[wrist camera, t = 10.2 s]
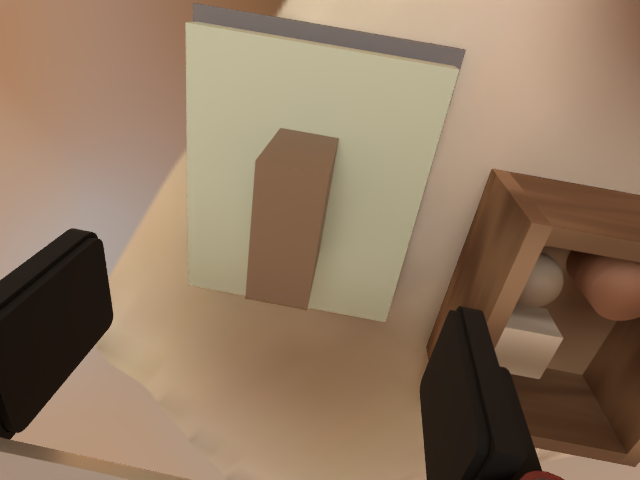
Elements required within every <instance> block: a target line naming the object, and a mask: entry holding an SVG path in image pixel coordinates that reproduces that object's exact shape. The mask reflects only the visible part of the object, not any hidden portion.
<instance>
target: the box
mask: <svg viewBox="0 0 640 480" xmlns="http://www.w3.org/2000/svg"><path fill="white" fill-rule="evenodd" d="M459 306H463V307H468V308H473V309H478V310H482V311H483V313H484V316H485V319H486V323H487V326H488V329H489V333H490V336H491V339H492V343H493V346H494V349H495V353H496V356H497V359H498V363H499V366H500V367H505V368H507V369H508V370H509V372H510V374H511V376H512V379H513V382H514V386H515V389H516V392H517V395H518V398H519V401H520V404H521V407H522V410H523V413H524V416H525V420H526V423H527V426H528V429H529V432H530V435H531V438H532V441H533V444H534V447H535V448H540V449H545V450H551V451H556V452H561V453H566V454H571V455H576V456H582V457H587V458H592V459H597V460H602V461H608V462H613V463H618V464H623V465H629V466H633V467H636V465H637V464H638V463H639V462H640V195H636V194H630V193H625V192H619V191H614V190H608V189H602V188H597V187H591V186H586V185H580V184H574V183H569V182H563V181H558V180H552V179H546V178H541V177H535V176H530V175H524V174H518V173H513V172H507V171H502V170H496V169H492V171H491V174H490V176H489V179H488V182H487V184H486V187H485V190H484V193H483V195H482V198H481V201H480V203H479V206H478V209H477V211H476V214H475V217H474V220H473V222H472V225H471V228H470V230H469V233H468V236H467V239H466V241H465V244H464V247H463V249H462V252H461V255H460V258H459V260H458V263H457V266H456V268H455V271H454V274H453V277H452V279H451V282H450V285H449V287H448V290H447V293H446V296H445V298H444V301H443V304H442V306H441V309H440V312H439V314H438V317H437V320H436V323H435V325H434V328H433V331H432V333H431V336H430V339H429V342H428V344H427V352H428V359H429V360H430V357H431V355H432V352H433V350H434V347H435V345H436V342H437V340H438V337H439V334H440V332H441V329H442V327H443V324H444V322H445V319H446V317H447V314H448V312H449V311H450V310H455V311H456V309H457V308H458V307H459Z"/></svg>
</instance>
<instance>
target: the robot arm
mask: <svg viewBox="0 0 640 480" xmlns="http://www.w3.org/2000/svg"><path fill="white" fill-rule="evenodd" d="M112 320H113V309H112V302H111V295H110V289H109V282H108V275H107V268H106V261H105V254H104V247H103V242H102V241H101V240H100V239H98V237H97V235H96V234H95V233H93V232H89V231H83V230H79V229H69V230H67V231H66V232H65V233H63V234H62V235H61V236H59V237H58V238H57V239H55V240H54V241H53V242H51V243H50V244H49V245H48V246H46V247H44V248H43V249H42V250H40V251H39V252H38V253H36V254H35V255H34V256H32V257H31V258H30V259H28V260H27V261H26V262H24V263H23V264H22V265H20V266H19V267H18V268H16V269H15V270H14V271H12V272H11V273H10V274H8V275H7V276H5V277H4V278H3V279H1V280H0V480H189V479H185V478H181V477H176V476H172V475H167V474H163V473H159V472H154V471H150V470H145V469H141V468H136V467H132V466H127V465H122V464H118V463H114V462H109V461H104V460H100V459H96V458H91V457H87V456H82V455H77V454H73V453H68V452H64V451H59V450H54V449H49V448H45V447H41V446H36V445H32V444H27V443H23V442H18V441H13V440H10V439H11V438H12V437H13V436H14V435H15V433H16V432H17V433H19V432H21V431H23V430H24V429H25V428H26V427H27V426H28V425H29V424H30V423H31V422H32V420H33V419H34V418H35V417H36V415H37V414H38V413H39V412H40V411H41V409H42V408H43V407H44V406H45V405H46V403H47V402H48V401H49V400H50V399H51V397H52V396H53V395H54V393H56V391H57V390H58V389H59V388H60V386H61V385H62V384H63V383H64V382H65V380H66V379H67V378H68V377H69V376H70V374H71V373H72V372H73V371H74V370H75V368H76V367H77V366H78V365H79V364H80V362H81V361H82V360H83V359H84V357H85V356H86V355H87V354H88V352H89V351H90V350H91V349H92V348H93V347H94V345H95V344H96V343H97V342H98V341H99V339H100V338H101V337H102V336H103V335H104V333H105V332H106V331H107V330H108V329H109V327H110V325H111V323H112ZM420 400H421V413H422V425H423V437H424V449H425V462H426V474H427V480H564V479H562V478H561V477H559V476H556V475H554V474H551V473H549V472H544V471H542V469H541V466H540V463H539V460H538V457H537V454H536V450H535V447H534V444H533V441H532V438H531V435H530V432H529V429H528V426H527V423H526V420H525V416H524V413H523V410H522V407H521V404H520V401H519V398H518V395H517V392H516V389H515V386H514V382H513V379H512V376H511V374H510V372H509V370H508V369H507V368H505V367H500V366H499V363H498V359H497V356H496V353H495V349H494V346H493V343H492V339H491V336H490V333H489V329H488V326H487V323H486V319H485V316H484V313H483V311H482V310H478V309H473V308H468V307H463V306H459V307H458V308H457V309H456V311H455V310H450V311H449V312H448V314H447V317H446V319H445V322H444V324H443V327H442V329H441V332H440V334H439V337H438V340H437V342H436V345H435V347H434V350H433V352H432V355H431V357H430V360H429V362H428V365H427V367H426V370H425V372H424V375H423V377H422V380H421V385H420Z"/></svg>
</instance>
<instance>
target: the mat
mask: <svg viewBox="0 0 640 480" xmlns="http://www.w3.org/2000/svg"><path fill="white" fill-rule="evenodd" d="M193 22H202V23H208V24H214V25H220V26H225V27H231V28H237V29H243V30H249V31H254V32H260V33H266V34H272V35H278V36H283V37H289V38H295V39H301V40H307V41H313V42H318V43H324V44H330V45H336V46H342V47H347V48H353V49H359V50H365V51H371V52H376V53H382V54H388V55H394V56H400V57H405V58H411V59H417V60H423V61H429V62H434V63H440V64H446V65H452V66H455V67H457V68H458V69H459V71H460V68H461V64H462V61H463V57H464V54H465V51H466V50H464V49H459V48H453V47H448V46H442V45H436V44H430V43H424V42H419V41H413V40H407V39H401V38H395V37H390V36H384V35H378V34H372V33H366V32H361V31H355V30H349V29H343V28H337V27H332V26H326V25H320V24H314V23H308V22H303V21H297V20H291V19H285V18H279V17H274V16H267V15H262V14H256V13H250V12H245V11H238V10H233V9H227V8H221V7H215V6H210V5H204V4H198V3H193ZM458 74H459V73H458ZM457 78H458V77H457ZM456 81H457V80H456ZM455 85H456V83H455ZM454 88H455V87H454ZM453 92H454V90H453ZM452 95H453V94H452ZM451 98H452V97H451ZM450 102H451V101H450ZM449 105H450V104H449ZM448 109H449V107H448ZM447 112H448V111H447ZM446 115H447V114H446ZM445 119H446V118H445ZM444 122H445V121H444ZM443 126H444V125H443ZM442 129H443V128H442ZM441 132H442V131H441ZM440 136H441V135H440ZM439 139H440V138H439ZM438 143H439V142H438ZM437 146H438V145H437ZM436 150H437V149H436ZM435 153H436V152H435ZM434 156H435V155H434ZM433 160H434V159H433ZM432 163H433V162H432ZM431 167H432V166H431ZM430 170H431V169H430ZM428 177H429V176H428ZM427 180H428V179H427ZM426 184H427V183H426ZM425 187H426V186H425ZM424 191H425V190H424ZM423 194H424V193H423ZM421 201H422V200H421ZM420 204H421V203H420ZM419 208H420V207H419ZM418 211H419V210H418ZM416 218H417V217H416ZM414 225H415V224H414ZM413 228H414V227H413ZM411 235H412V234H411ZM409 242H410V241H409ZM407 249H408V248H407ZM406 252H407V251H406ZM404 259H405V258H404ZM402 266H403V265H402ZM397 283H398V282H397Z"/></svg>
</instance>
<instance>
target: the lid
mask: <svg viewBox="0 0 640 480" xmlns="http://www.w3.org/2000/svg"><path fill="white" fill-rule="evenodd" d="M458 73H459V69H458V68H457V67H455V66H452V65H446V64H440V63H434V62H429V61H423V60H417V59H411V58H405V57H400V56H394V55H388V54H382V53H376V52H371V51H365V50H359V49H353V48H347V47H342V46H336V45H330V44H324V43H318V42H313V41H307V40H301V39H295V38H289V37H283V36H278V35H272V34H266V33H260V32H254V31H249V30H243V29H237V28H231V27H225V26H220V25H214V24H208V23H202V22H186V106H187V107H186V110H187V211H188V285H189V286H194V287H200V288H205V289H210V290H216V291H221V292H226V293H232V294H237V295H242V296H245V298H246V299H251V300H257V301H262V302H267V303H273V304H278V305H283V306H289V307H294V308H299V309H305V310H307V308H311V309H317V310H322V311H327V312H333V313H338V314H343V315H349V316H354V317H359V318H365V319H370V320H375V321H381V322H386V320H387V317H388V313H389V310H390V306H391V303H392V300H393V296H394V293H395V289H396V286H397V282H398V279H399V276H400V272H401V269H402V265H403V262H404V258H405V255H406V251H407V248H408V245H409V241H410V238H411V234H412V231H413V227H414V224H415V221H416V217H417V214H418V210H419V207H420V203H421V200H422V197H423V193H424V190H425V186H426V183H427V179H428V176H429V173H430V169H431V166H432V162H433V159H434V155H435V152H436V149H437V145H438V142H439V138H440V135H441V131H442V128H443V125H444V121H445V118H446V114H447V111H448V107H449V104H450V101H451V97H452V94H453V90H454V87H455V83H456V80H457V77H458Z"/></svg>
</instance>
